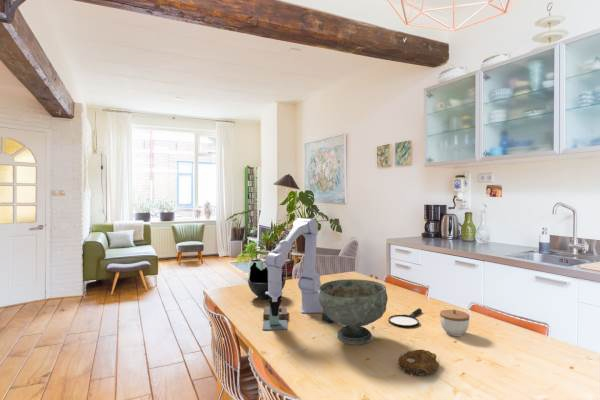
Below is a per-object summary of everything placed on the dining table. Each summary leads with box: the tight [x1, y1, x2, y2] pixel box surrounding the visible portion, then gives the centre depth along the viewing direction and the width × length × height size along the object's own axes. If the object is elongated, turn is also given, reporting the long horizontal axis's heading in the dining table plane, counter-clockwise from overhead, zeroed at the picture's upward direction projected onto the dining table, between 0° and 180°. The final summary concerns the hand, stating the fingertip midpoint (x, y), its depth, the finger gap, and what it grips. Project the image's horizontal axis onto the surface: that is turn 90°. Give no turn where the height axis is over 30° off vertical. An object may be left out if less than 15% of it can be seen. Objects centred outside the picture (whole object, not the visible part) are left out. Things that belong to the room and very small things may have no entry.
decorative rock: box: [398, 349, 440, 376], centre depth 113 cm, size 11×4×15 cm
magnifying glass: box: [388, 307, 423, 329], centre depth 156 cm, size 12×24×2 cm, turn 140°
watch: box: [321, 312, 335, 324], centre depth 154 cm, size 6×8×11 cm
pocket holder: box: [262, 306, 288, 321], centre depth 161 cm, size 10×10×2 cm
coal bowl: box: [247, 261, 287, 300], centre depth 189 cm, size 20×20×19 cm
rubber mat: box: [262, 319, 288, 331], centre depth 149 cm, size 10×10×1 cm
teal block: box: [268, 304, 279, 325], centre depth 148 cm, size 4×4×9 cm
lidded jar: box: [439, 309, 470, 337], centre depth 140 cm, size 11×11×9 cm
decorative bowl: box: [319, 278, 389, 345], centre depth 136 cm, size 26×26×20 cm
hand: (275, 313), depth 149 cm, fingers closed on teal block, 4 cm apart
